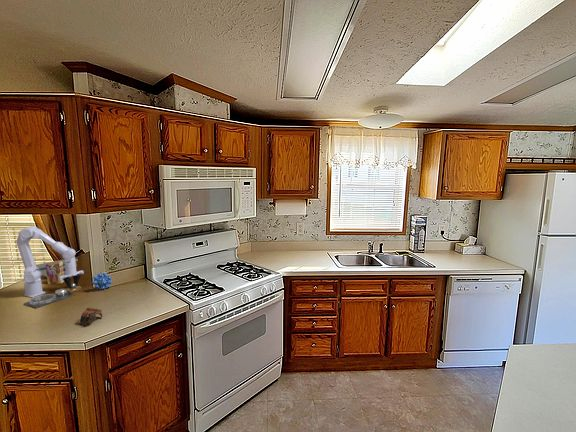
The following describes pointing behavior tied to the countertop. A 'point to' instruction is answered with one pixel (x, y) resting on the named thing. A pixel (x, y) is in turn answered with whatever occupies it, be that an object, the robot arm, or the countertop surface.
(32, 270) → the robot arm
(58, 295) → the gear carrier
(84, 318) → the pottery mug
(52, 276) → the candy box
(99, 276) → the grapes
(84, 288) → the countertop surface
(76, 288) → the planet gear
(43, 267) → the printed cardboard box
